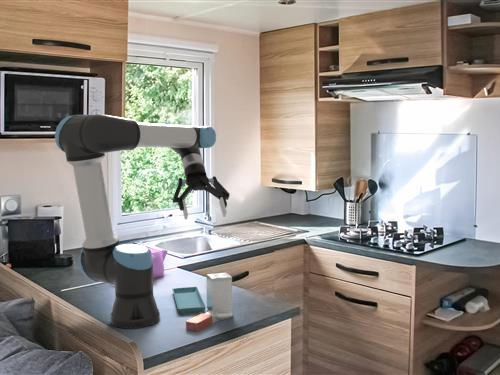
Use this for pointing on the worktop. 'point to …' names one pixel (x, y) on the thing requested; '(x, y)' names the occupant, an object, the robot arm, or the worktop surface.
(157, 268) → the pink pitcher
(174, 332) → the worktop surface
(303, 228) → the worktop surface
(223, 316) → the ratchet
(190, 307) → the teal serving tray
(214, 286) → the tall white box
